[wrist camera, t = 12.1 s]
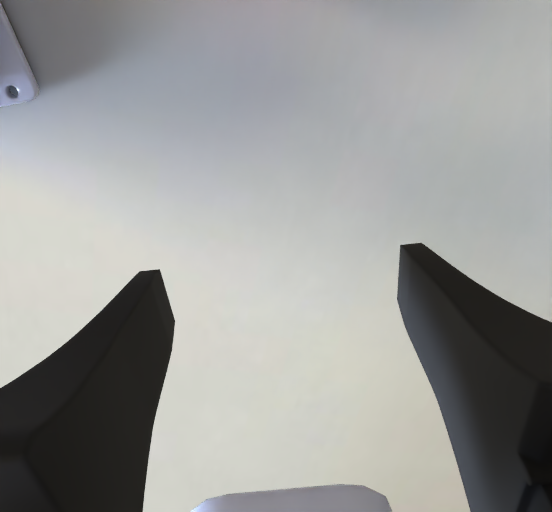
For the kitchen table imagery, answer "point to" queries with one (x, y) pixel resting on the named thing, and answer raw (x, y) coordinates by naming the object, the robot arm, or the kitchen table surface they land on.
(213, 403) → the kitchen table surface
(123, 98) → the kitchen table surface
